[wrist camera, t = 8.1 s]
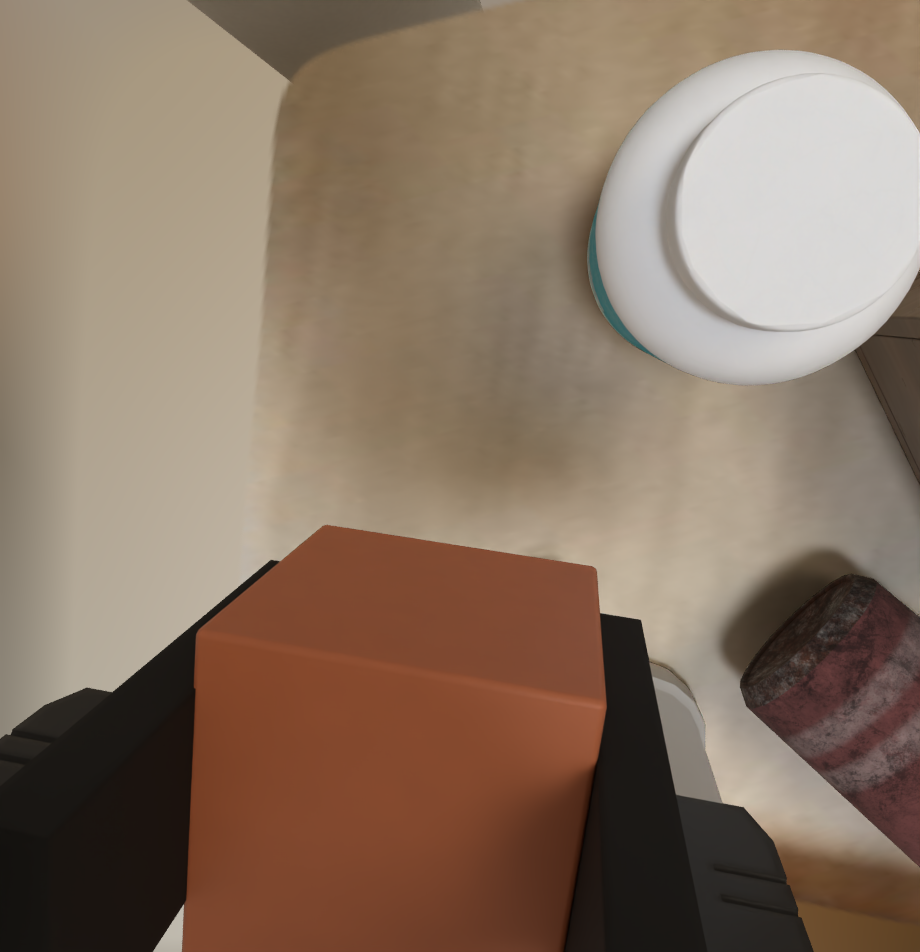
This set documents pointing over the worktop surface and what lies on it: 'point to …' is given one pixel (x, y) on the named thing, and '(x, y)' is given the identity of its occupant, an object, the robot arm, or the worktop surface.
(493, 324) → the worktop surface
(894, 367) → the cabinet
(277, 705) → the block
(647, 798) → the robot arm
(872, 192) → the pill bottle
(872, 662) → the can
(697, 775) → the bottle
